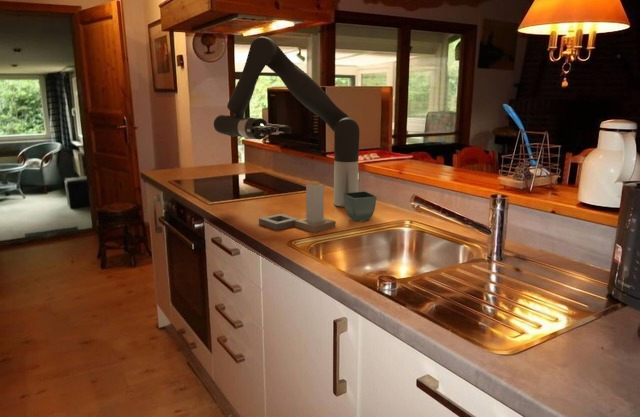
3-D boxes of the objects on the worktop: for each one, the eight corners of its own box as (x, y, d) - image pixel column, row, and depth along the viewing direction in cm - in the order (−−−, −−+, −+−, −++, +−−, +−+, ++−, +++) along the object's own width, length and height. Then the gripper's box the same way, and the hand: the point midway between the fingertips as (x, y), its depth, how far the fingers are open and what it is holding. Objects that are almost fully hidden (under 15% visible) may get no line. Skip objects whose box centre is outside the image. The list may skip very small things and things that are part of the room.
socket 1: (281, 219, 167) (281, 213, 167) (299, 224, 161) (299, 218, 160) (258, 224, 161) (258, 218, 161) (276, 230, 154) (276, 224, 154)
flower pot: (353, 224, 162) (353, 198, 159) (342, 218, 169) (342, 193, 167) (376, 222, 165) (377, 196, 163) (364, 215, 173) (365, 191, 170)
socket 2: (315, 221, 165) (315, 215, 165) (335, 227, 158) (335, 221, 158) (294, 226, 159) (294, 220, 158) (314, 232, 152) (314, 226, 152)
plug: (315, 224, 161) (315, 180, 158) (323, 226, 158) (323, 181, 155) (306, 226, 159) (306, 181, 155) (314, 229, 156) (314, 183, 152)
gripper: (235, 118, 169) (263, 120, 158) (268, 116, 179) (296, 118, 167) (236, 140, 171) (264, 143, 160) (268, 137, 181) (297, 140, 169)
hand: (280, 131), depth 163 cm, fingers open, 8 cm apart
